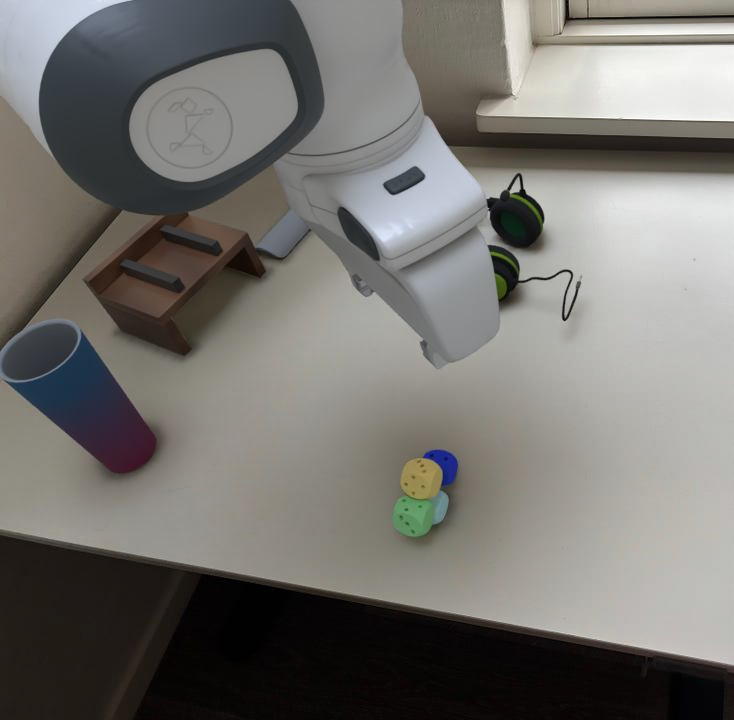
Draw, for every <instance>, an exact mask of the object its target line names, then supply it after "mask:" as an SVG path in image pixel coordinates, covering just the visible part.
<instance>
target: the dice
mask: <svg viewBox="0 0 734 720" xmlns="http://www.w3.org/2000/svg"><path fill="white" fill-rule="evenodd" d="M458 470H459V460H458V458H457V457H456V456H455V455H454V454H453V453H451V452H450V451H448V450H445V449H436V448H435V449H430V450H428V451H427V452H425V453H424V454H423V456H422V457H418V458H413V459H410V460H408V461H407V462H406V463H405V465H404V467H403V469H402V472H401V476H400V487H401V489H402V491H403V492H404V493H405V495H403V496H401V497H400V498H398V500H396V503H395V505H394V507H393V511H392V517H391V519H392V520H391V521H392V524H393V526H394V527H395V529H396V530H397V531H398V532H400V533H401V534H402V535H405V536H408V537H414V538H415V537H421V536H424V535H426V534H427V533H429V531H430V530H431V528H432V526H433V525H437V524H440V523H441V522H442V521H443V520H444V518H445V517H446V514H447V511H448V508H449V501H450V500H449V496H448V494H447V493H446V492H445V491H443V490H441V487H447V486H450V485H452V484H453V483H454V482H455V480H456V477H457V475H458Z"/></svg>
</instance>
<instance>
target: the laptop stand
mask: <svg viewBox="0 0 734 720" xmlns="http://www.w3.org/2000/svg"><path fill="white" fill-rule="evenodd" d="M255 247H256V246H255V245H254V243H253V241H252V239H251V237H250V234H249V233H248V231H244V230H241V229H238V228H234V227H231V226H229V225H228V226H227V225H224V224H221V223H217V222H214V221H210V220H207V219H204V218H200V217H197V216H194V215H190V214H189V212H186V213H181V214H175V215H158V216H156V215H154V217H153V218H152V219H151V220H149V221H148V222H147V223H146V224H145V225H144V226H142V227H141V228H140V229H139V230H138V231H136V232H135V233H134V234H133V235H132V236H131V237H130V238H128V239H127V240H126V241H125V242H123V243H122V244H121V245H120V246H119V247H118V248H117V249H116V250H115V251H113V252H112V253H111V254H110V255H109V256H107V257H106V258H105V259H104V260H103V261H102V262H100V263H99V264H98V265H97V266H95V268H93V269H92V270H91V271H90V272H89V273H88V274H86V275H85V276H84V277H83V278H82V279H81V280H82V281H83V283H84V284H85V285H86V287H87V288H88V289H89V291H90V292H91V293H92V294H93V295H94V297H95V298H96V300H97V301H98V302H99V304H100V305H101V306H102V307H103V309H104V310H105V312H106V313H107V314H108V316H110V318H111V320H112V321H113V322H114V323H115V325H116V326H117V327H118V329H119V330H120V331H121V332H123V333H125V334H128V335H130V336H132V337H135V338H138V339H140V340H143V341H145V342H148V343H150V344H153V345H156V346H158V347H159V348H162V349H165V350H167V351H170V352H173V353H175V354H178V355H180V356H183V357H186V356H187V355H188V353H189V352H190V351H192V347H191V345H190V344H189V342H188V341H187V339H186V338H185V336H184V334H183V333H182V332H181V330H180V328H179V326H178V325H177V324H176V323H175V321H174V319H173V318H174V316H175V315H176V314H178V312H180V310H181V309H183V308H184V306H186V305H187V304H188V303H189V302H190V301H191V300H192V299H193V298H194V297H195V296H196V295H197V294H198V293H199V292H200V291H201V290H202V289H203V288H204V287H205V286H206V285H207V284H208V283H209V282H210V281H211V280H212V279H213V278H214V277H215V276H216V275H217V274H218V273H220V271H221V270H223V269H224V268H228V269H230V270H234V271H237V272H240V273H242V274H247V275H249V276H253V277H256V278H258V279H261V278H262V277H263V276H264V275H265V274H266V273H267V270H266V267H265V266H264V263H263V262H262V259H261V258H260V256H259V254H258V252H257V251H256V249H255Z"/></svg>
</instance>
